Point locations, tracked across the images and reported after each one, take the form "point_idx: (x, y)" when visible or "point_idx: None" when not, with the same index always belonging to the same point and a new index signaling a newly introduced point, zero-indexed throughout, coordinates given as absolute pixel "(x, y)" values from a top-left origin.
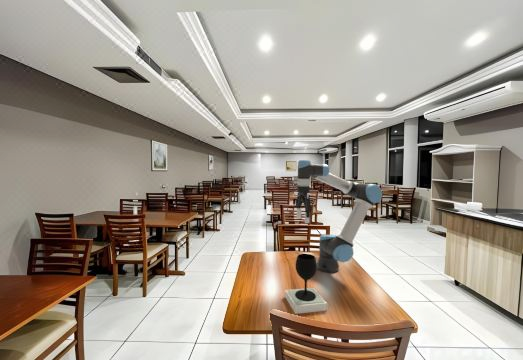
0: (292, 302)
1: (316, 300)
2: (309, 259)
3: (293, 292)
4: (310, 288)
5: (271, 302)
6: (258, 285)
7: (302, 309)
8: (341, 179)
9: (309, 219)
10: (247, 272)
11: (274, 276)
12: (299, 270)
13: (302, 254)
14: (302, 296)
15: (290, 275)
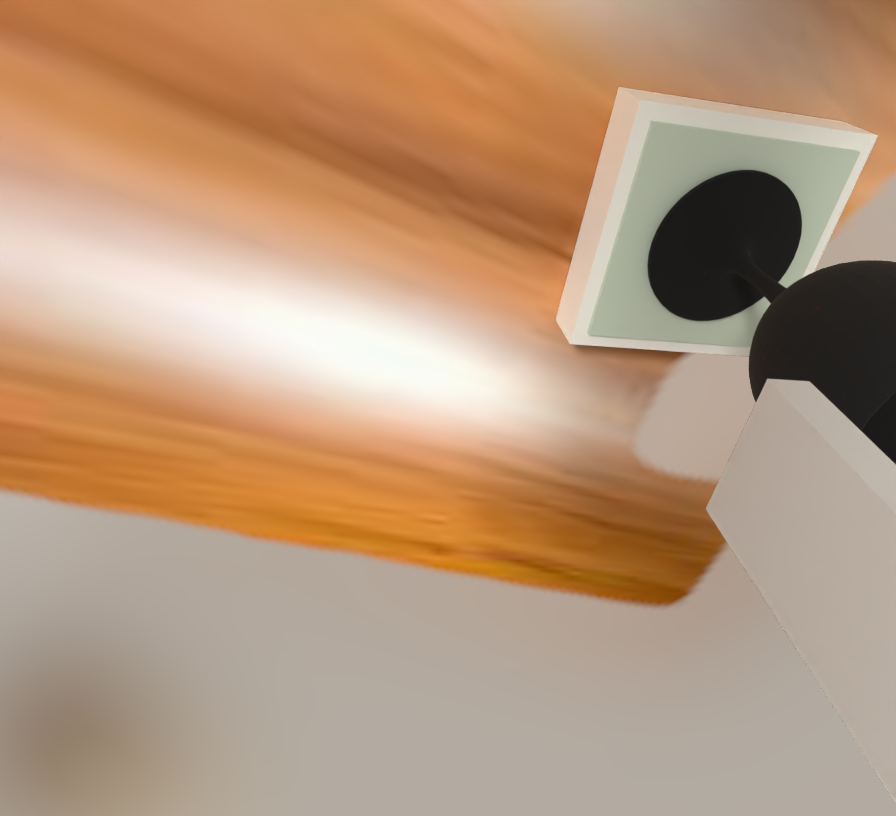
0: (718, 351)
1: (815, 202)
2: (866, 330)
3: (638, 309)
4: (650, 144)
5: (578, 416)
6: (331, 434)
7: None
8: None
9: (892, 469)
10: (62, 461)
11: (180, 274)
12: None
13: None
14: (739, 288)
15: (176, 102)
